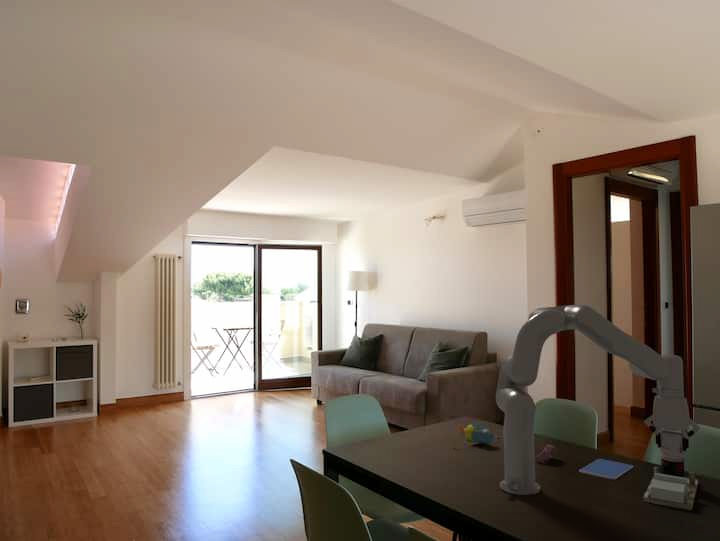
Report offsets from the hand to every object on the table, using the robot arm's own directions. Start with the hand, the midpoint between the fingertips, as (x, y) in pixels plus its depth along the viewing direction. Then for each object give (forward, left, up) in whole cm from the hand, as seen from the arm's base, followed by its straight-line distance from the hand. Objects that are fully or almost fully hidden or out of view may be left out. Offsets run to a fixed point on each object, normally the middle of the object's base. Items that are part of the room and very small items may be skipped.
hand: (672, 448), depth 176 cm
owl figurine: (+13, +73, -13) cm, 75 cm away
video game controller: (+5, +42, -12) cm, 44 cm away
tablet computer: (+6, +21, -13) cm, 26 cm away
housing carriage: (-14, 0, -11) cm, 18 cm away
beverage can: (0, 0, -10) cm, 10 cm away
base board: (-6, 0, -12) cm, 14 cm away
